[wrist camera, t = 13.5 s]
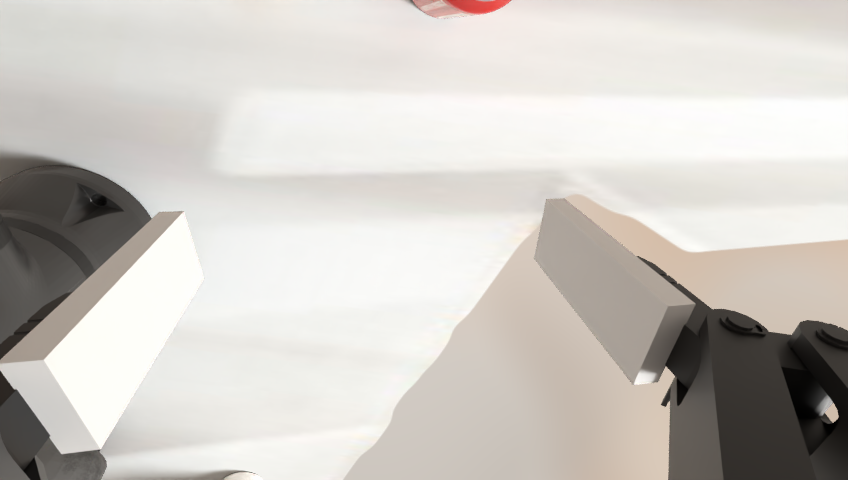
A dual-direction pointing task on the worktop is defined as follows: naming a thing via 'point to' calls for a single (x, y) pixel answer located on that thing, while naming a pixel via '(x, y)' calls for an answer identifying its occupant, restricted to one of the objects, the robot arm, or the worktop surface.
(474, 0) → the soda can
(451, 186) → the worktop surface
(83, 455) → the pitcher
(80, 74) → the worktop surface
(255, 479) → the bottle
